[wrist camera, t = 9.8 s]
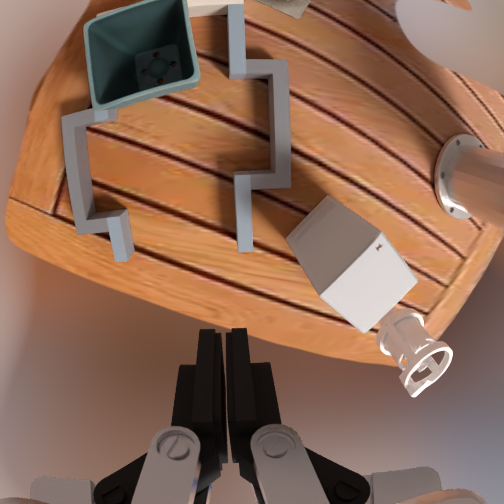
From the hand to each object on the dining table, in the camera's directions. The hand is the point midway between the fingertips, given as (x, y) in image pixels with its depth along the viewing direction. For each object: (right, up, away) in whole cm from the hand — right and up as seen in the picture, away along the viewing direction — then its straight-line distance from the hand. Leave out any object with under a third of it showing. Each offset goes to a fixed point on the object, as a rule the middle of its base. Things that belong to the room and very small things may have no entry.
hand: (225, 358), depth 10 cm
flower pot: (-9, +23, +15) cm, 29 cm away
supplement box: (+10, +6, +24) cm, 27 cm away
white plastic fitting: (+20, -4, +30) cm, 36 cm away
